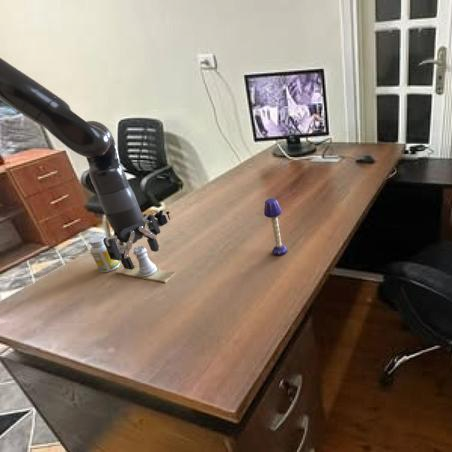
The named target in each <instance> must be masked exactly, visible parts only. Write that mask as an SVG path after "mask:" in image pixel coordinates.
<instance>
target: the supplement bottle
mask: <svg viewBox="0 0 452 452" xmlns="http://www.w3.org/2000/svg"><path fill="white" fill-rule="evenodd" d="M104 238H107V237H106V236H105V235H97V236H94V237H92V238H91V239H88V244H89V245H90V248H89V249H90V250H89V253H90V254H91V256H92V258H93V260H94V262H95V264H96V266H97V268H98V270H99V272H101V273H108V272H109V273H110V272H112V271H114V270H116V269H118V268H119V267H120V266H121V260H120V261H118V260H112V259H110V257H109V254H108V252H107V249H106V247H105V244H104V242H103V239H104Z"/></svg>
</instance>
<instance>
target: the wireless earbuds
mask: <svg viewBox="0 0 452 452" xmlns="http://www.w3.org/2000/svg"><path fill="white" fill-rule="evenodd" d="M169 214H170V211H168V210H167V211H165V214H164V210H162V209H160V210H159V212H156V213H155V214H154V218H155V220H156V222H157V224H158V227H160V226H164V225H166V224H167V223H168V220H169V221H170V220H171V217H170V215H169ZM166 215H167V216H166ZM167 218H168V219H167Z"/></svg>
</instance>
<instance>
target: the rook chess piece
mask: <svg viewBox="0 0 452 452" xmlns="http://www.w3.org/2000/svg"><path fill="white" fill-rule="evenodd" d="M147 251H148V250H147V248H146V247H145V246H143V245H138V246H137V247H134V249H133V252H132V253H133V255H134V256H135V257H136V259H137V261H138V264H139V265H138V266H139V272H140V275H141V276H143V277H148V276H151V275H153V274H154V273H156V271H157V269H158V267H157V265H156V263H154V262H152V261H151V260H150V258H149V255H148V253H147Z"/></svg>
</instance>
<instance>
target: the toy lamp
mask: <svg viewBox="0 0 452 452" xmlns="http://www.w3.org/2000/svg"><path fill="white" fill-rule="evenodd" d="M282 212H283V211H282V208H281V206H280V205H279V203H278V200H277V199H276V198H267V199H265V202H264V211H263V214H264V215H263V216H265V217H266V218H270V221H271V224H272V225H271V226H272V231H273V237H274V242H275V246H274V247H273V249H272V254H273V255H274V256H277V257H282V256H284V255H286V254H287V253H288V247H286V246H285V245H284V244H283V243H282V237H281V233H280V227H279V225H280V224H279V219H278V217H279V216H280V215H281V214H282Z"/></svg>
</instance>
